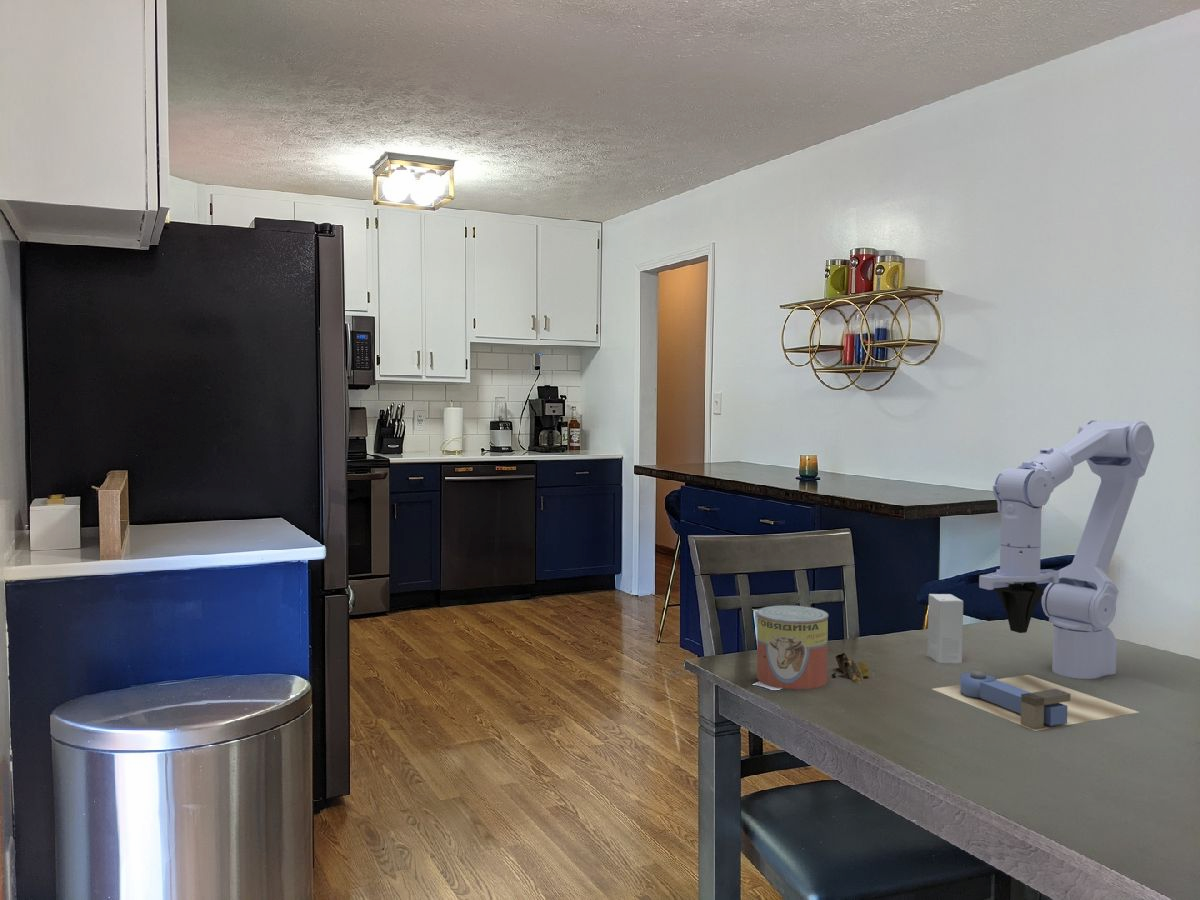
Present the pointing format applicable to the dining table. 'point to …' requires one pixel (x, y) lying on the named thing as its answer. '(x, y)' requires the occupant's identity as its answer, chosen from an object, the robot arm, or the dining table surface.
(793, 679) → the canned food
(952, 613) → the skincare box
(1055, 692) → the keeper
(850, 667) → the regulator
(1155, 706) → the dining table surface
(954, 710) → the dining table surface
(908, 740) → the dining table surface
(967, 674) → the link
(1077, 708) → the board
